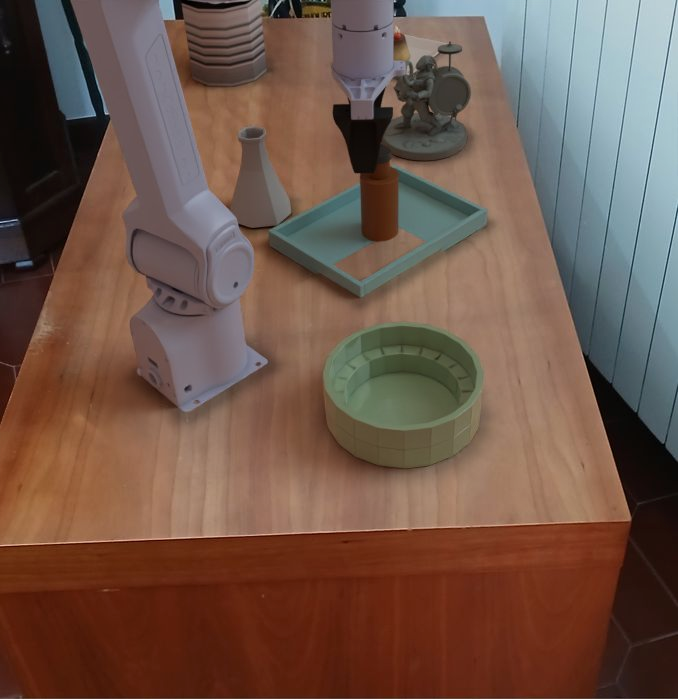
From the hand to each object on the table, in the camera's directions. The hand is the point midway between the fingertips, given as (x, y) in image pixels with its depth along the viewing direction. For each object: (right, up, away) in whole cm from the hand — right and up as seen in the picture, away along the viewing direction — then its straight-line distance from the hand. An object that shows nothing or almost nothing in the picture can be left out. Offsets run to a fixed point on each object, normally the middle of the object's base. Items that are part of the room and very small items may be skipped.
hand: (365, 152), depth 94 cm
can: (-19, +20, +40) cm, 49 cm away
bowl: (+3, -26, -14) cm, 30 cm away
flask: (-12, -5, +11) cm, 17 cm away
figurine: (+8, +6, +22) cm, 25 cm away
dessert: (+5, +22, +41) cm, 47 cm away
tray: (+2, -8, +7) cm, 10 cm away
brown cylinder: (+2, -7, +6) cm, 10 cm away
